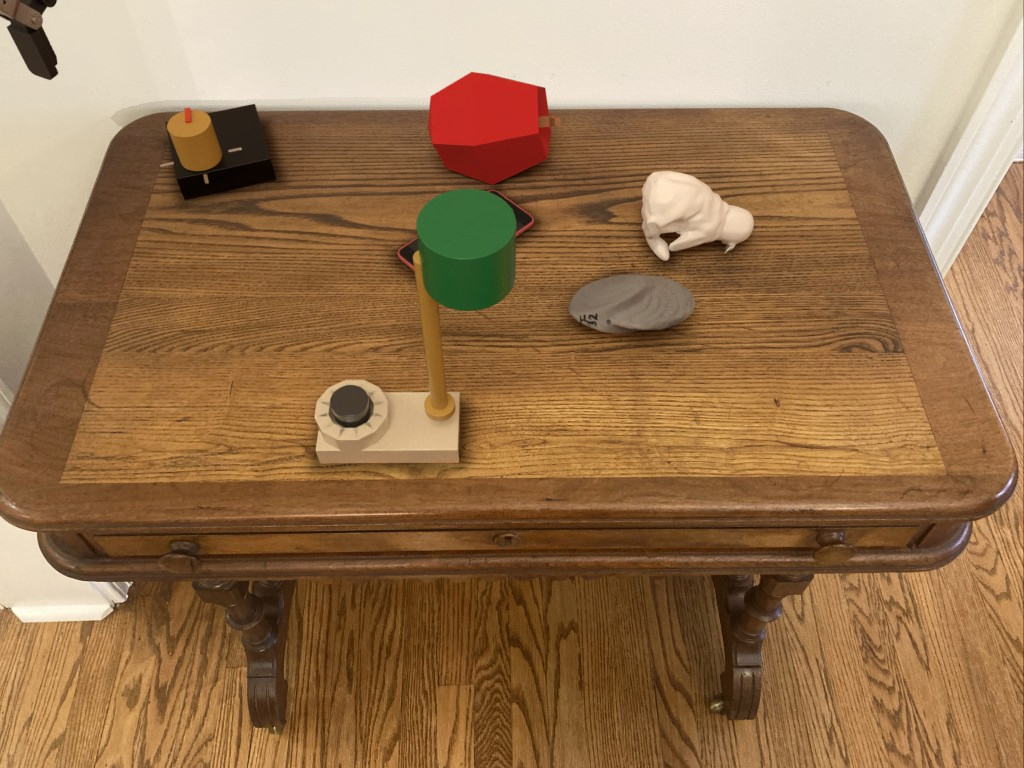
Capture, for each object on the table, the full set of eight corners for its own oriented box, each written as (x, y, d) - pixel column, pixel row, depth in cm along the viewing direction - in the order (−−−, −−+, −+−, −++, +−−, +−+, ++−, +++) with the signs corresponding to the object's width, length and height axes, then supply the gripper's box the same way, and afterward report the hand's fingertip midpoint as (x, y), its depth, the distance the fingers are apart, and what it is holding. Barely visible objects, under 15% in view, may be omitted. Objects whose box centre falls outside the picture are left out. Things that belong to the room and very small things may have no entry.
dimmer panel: (174, 214, 91) (164, 191, 89) (162, 145, 98) (152, 123, 95) (280, 190, 93) (273, 167, 91) (261, 125, 100) (254, 102, 97)
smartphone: (393, 251, 87) (492, 186, 93) (393, 255, 88) (492, 190, 93) (438, 288, 84) (538, 219, 90) (438, 292, 85) (538, 223, 91)
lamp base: (319, 464, 74) (310, 440, 70) (327, 405, 77) (319, 379, 74) (459, 463, 74) (456, 439, 71) (460, 405, 77) (458, 379, 74)
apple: (449, 129, 101) (574, 116, 98) (434, 205, 95) (568, 193, 92) (419, 43, 92) (557, 25, 88) (400, 121, 85) (548, 105, 82)
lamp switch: (331, 427, 72) (327, 416, 70) (335, 396, 73) (331, 384, 72) (369, 427, 72) (366, 416, 70) (372, 396, 73) (369, 384, 72)
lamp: (422, 441, 70) (395, 259, 53) (426, 378, 74) (402, 188, 57) (513, 440, 70) (517, 259, 53) (513, 377, 74) (515, 188, 57)
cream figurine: (646, 154, 84) (765, 165, 85) (628, 217, 91) (738, 227, 92) (651, 198, 80) (775, 210, 81) (631, 261, 87) (746, 271, 88)
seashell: (675, 373, 79) (710, 290, 84) (673, 339, 75) (710, 253, 79) (562, 342, 84) (600, 264, 88) (552, 308, 79) (593, 228, 83)
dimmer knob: (223, 167, 91) (211, 130, 87) (181, 174, 90) (166, 137, 86) (221, 141, 93) (208, 104, 90) (179, 147, 93) (165, 110, 89)
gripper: (-87, -202, 52) (34, 41, 65) (-307, -98, 44) (-120, 153, 57) (8, -178, 50) (112, 68, 63) (-205, -65, 42) (-36, 186, 55)
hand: (2, 108), depth 60 cm, fingers open, 8 cm apart
